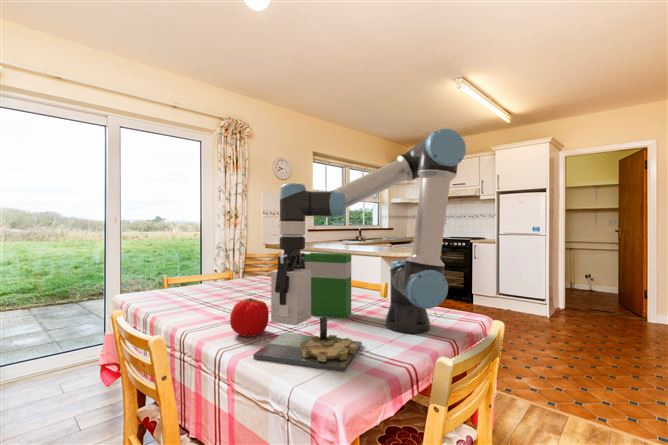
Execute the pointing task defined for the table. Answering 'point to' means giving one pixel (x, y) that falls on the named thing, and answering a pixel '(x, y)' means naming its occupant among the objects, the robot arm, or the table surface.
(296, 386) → the table surface
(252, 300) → the tomato
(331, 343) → the sprocket
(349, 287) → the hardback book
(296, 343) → the plate
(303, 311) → the supplement box
